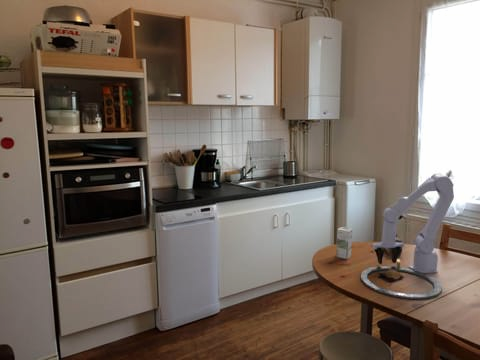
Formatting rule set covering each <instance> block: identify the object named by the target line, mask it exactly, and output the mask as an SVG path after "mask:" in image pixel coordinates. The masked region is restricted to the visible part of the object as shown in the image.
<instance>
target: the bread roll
mask: <svg viewBox="0 0 480 360" xmlns="http://www.w3.org/2000/svg"><path fill="white" fill-rule="evenodd" d="M377 278H378V279H380V280H382V281H385V282H387V283H396V282H398V281H401V280H403V279H404V278H405V275H402V274H401V273H400V271H396V270H384V272H379V276H377Z"/></svg>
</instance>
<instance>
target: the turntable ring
mask: <svg viewBox="0 0 480 360" xmlns="http://www.w3.org/2000/svg"><path fill="white" fill-rule="evenodd" d="M388 270H395V271H397V272H404V273H409V274H413V275H416V276H419V277H421V278H422V279H425V280H427V281H428V282H429V283H431V284H432V286H433V289H432V290H431V291H428V292H425V293H403V292H396V291H392V290H389V289H386V288H383V287H380V286H378V285H376V284H374V283H372V281H370V280H369V278H368V275H370V274H372V273H374V272H377V271H378V272H379V271H388ZM360 280H361V281H362V283H363V284H364V285H365V286H366V287H368V288H370V289H372V290H374V291H375V292H378V293H381V294H383V295H387V296H389V297H393V298H401V299H408V300H426V299H432V298H436V297H438V296H439V295H440V294H441V293H442V291H443V288H442V284H441V283H440V282H439V281H438V280H436V279H435V278H434V277H432V276H431V275H428V274H427V273H422V272H419V271H415V270H413V269H411V268H407V267H406V268H405V267H401V258H397V261H396V263H395V266H393V265H392V266H391V265H386V266H385V265H384V266H382V265H378V266H374V267H368V268H366V269H364V270H363V271H361V273H360Z"/></svg>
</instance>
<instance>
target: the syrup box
mask: <svg viewBox="0 0 480 360" xmlns="http://www.w3.org/2000/svg"><path fill="white" fill-rule="evenodd" d="M336 235H337V237H336V258H337V259H342V260H343V259H345V260H348V259H349V258H351V256H352V241H353V228H350V227H346V226H340V227H338V228H337V233H336Z"/></svg>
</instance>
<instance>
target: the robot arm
mask: <svg viewBox="0 0 480 360" xmlns="http://www.w3.org/2000/svg"><path fill="white" fill-rule="evenodd" d="M428 192H437V195H438V197H439V198H438V200H437V201H436V203H435V205H434V208H433V209H432V211H431V212H430V213H431V214H430V215H429V217H428V219H427V221H426V223H425V224H424V225H425V226H424V227H423V229H421V230H420V232H419V233H418V234H416V235H415V236H414V240H413V243H414V244H415V245H416V246H415V248H414V252H413V265H408V268H409V269H411V270H415V271H419V272H422V273H424V274H431V273H438V272H439V271H438V261H439V260H438V259H439V257H438V254H437V252H436V251H435V242H436V239H437V235H436V234H437V233H438V230H439V229H440V226H441V224H442V222H443V221H444V219H445V217H446V214H447V213H448V211H449V209H450V207H451V204H452V202H453V200H455V199H454V198H455V196H454V195H455V194H454V193H455V192H454V182H453V181H452V179H451V178H449V177H448V176H446V175H443V174H442V173H433V174H432V175H431V177H428V178H426V179H425V181H423V182H422V184H420V185H419V186H418V187H417V188H416V189H415V190H414V191H412V192H411V193H410V194H408V196H402V197H398V198H397V201H395V202H394V203H393V204H391V205H389V207H386V208H385V209H384V210H383V212H382V217H383V222H382V223H383V224H382V237H381V242H377V243H373V244H372V249H373V250H374V252H375V254H376V258H377V263H378V264H379V265H382V264H383V258H384V257H383V256H384V254H385V250H383V249H384V248H392V256H391V262H392V263H393V264H396V261H397V259H399V257H400V256H399V254H400V253H401V252H403V248H404V247H405V246H404V245H405V243H404V242H403V241H402V242H395V239H396V235H397V227H398V226H397V223H398V220H399V219H400V217H401V216H402V215H403V214H405V213H406V212H407V211H408V210H410V209H411V208H412V207H413V203H414V202H416V201H417V200H418V199H419V198H421V197H423V196H424V195H425V194H426V193H428ZM401 248H402V249H401Z"/></svg>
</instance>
